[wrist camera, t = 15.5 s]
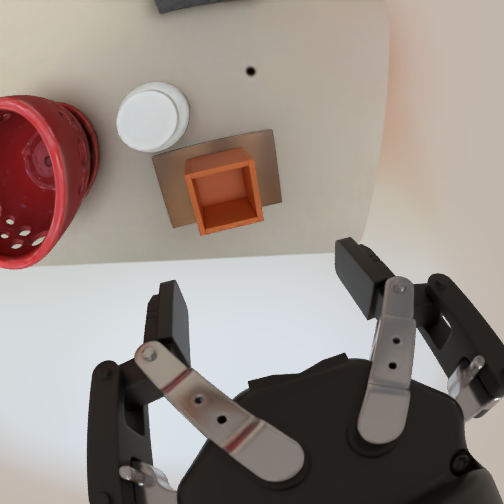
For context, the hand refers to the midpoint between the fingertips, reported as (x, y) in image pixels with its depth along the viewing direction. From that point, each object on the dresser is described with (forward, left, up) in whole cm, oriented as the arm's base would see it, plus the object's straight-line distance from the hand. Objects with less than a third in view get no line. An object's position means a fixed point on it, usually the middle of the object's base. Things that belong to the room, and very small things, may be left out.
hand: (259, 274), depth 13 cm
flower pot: (+16, -8, -17) cm, 25 cm away
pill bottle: (+4, -8, -17) cm, 19 cm away
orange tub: (0, 0, -16) cm, 16 cm away
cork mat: (0, 0, -17) cm, 17 cm away
